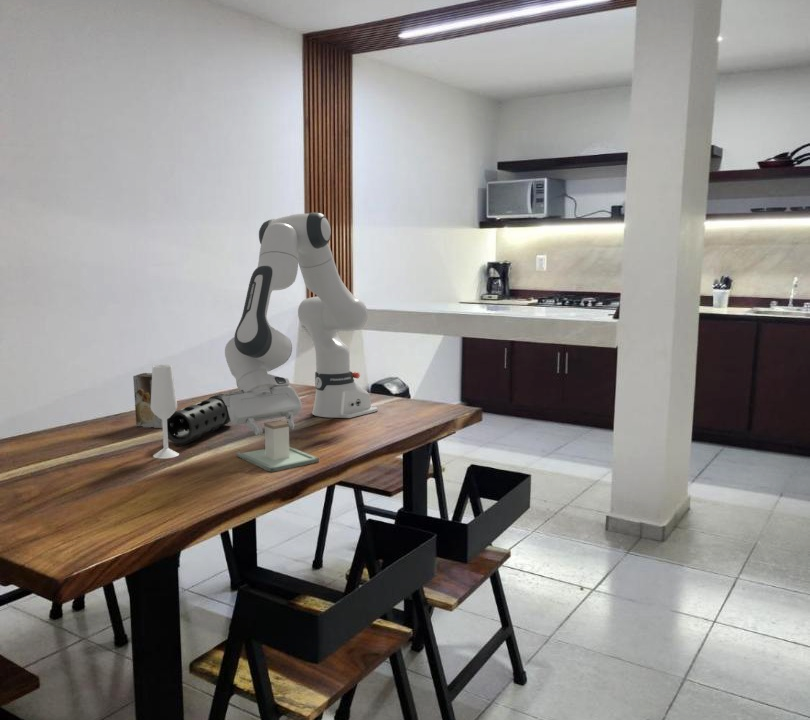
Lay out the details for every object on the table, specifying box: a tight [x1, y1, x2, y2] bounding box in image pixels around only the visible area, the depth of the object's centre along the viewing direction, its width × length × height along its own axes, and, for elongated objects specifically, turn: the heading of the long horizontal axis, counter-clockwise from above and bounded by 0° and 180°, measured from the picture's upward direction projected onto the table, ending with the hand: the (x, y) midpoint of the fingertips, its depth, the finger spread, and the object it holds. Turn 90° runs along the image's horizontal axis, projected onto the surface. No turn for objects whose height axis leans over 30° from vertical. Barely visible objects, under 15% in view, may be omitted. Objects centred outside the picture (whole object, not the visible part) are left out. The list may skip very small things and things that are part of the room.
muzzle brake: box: [167, 393, 232, 447], centre depth 214 cm, size 10×28×10 cm, turn 166°
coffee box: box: [133, 372, 163, 429], centre depth 225 cm, size 9×6×16 cm
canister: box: [263, 419, 290, 460], centre depth 189 cm, size 5×5×9 cm
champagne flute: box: [151, 364, 180, 460], centre depth 191 cm, size 7×7×24 cm
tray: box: [236, 446, 320, 473], centre depth 189 cm, size 14×18×1 cm
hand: (275, 430), depth 189 cm, fingers open, 8 cm apart
